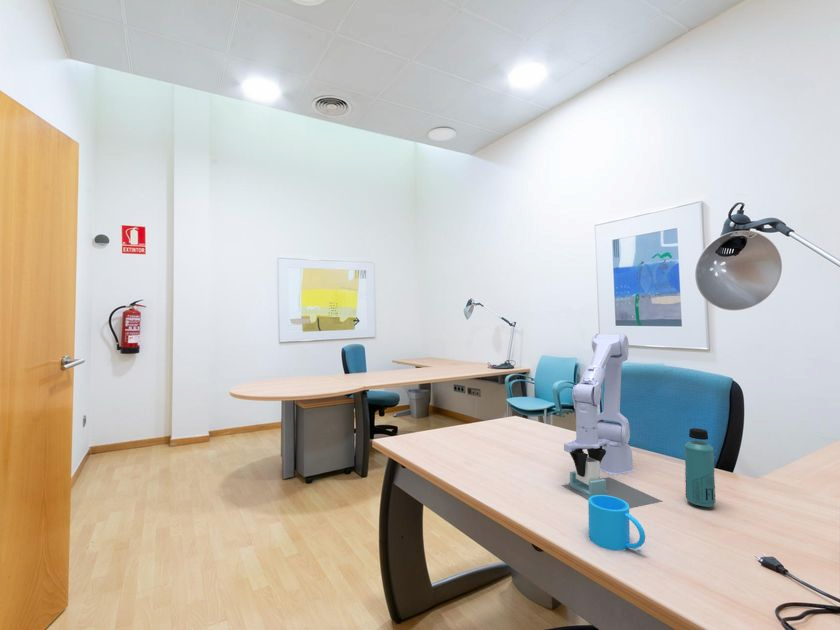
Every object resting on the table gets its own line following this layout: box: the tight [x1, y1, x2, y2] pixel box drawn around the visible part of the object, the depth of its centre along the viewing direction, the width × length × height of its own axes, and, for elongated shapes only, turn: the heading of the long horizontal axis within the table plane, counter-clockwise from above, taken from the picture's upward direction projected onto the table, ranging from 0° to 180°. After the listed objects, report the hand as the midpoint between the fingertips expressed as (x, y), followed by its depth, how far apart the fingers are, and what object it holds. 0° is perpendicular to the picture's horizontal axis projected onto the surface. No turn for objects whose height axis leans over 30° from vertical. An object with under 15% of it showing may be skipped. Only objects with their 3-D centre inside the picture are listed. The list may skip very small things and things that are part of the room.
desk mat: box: [561, 476, 663, 509], centre depth 112 cm, size 18×18×1 cm
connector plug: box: [575, 456, 601, 485], centre depth 115 cm, size 4×5×6 cm
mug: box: [587, 495, 646, 551], centre depth 87 cm, size 12×8×8 cm
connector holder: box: [568, 470, 608, 497], centre depth 115 cm, size 6×8×4 cm
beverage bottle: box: [684, 427, 717, 508], centre depth 105 cm, size 6×7×20 cm
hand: (587, 474), depth 115 cm, fingers closed on connector plug, 4 cm apart
